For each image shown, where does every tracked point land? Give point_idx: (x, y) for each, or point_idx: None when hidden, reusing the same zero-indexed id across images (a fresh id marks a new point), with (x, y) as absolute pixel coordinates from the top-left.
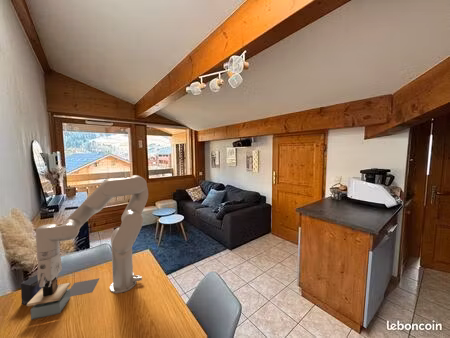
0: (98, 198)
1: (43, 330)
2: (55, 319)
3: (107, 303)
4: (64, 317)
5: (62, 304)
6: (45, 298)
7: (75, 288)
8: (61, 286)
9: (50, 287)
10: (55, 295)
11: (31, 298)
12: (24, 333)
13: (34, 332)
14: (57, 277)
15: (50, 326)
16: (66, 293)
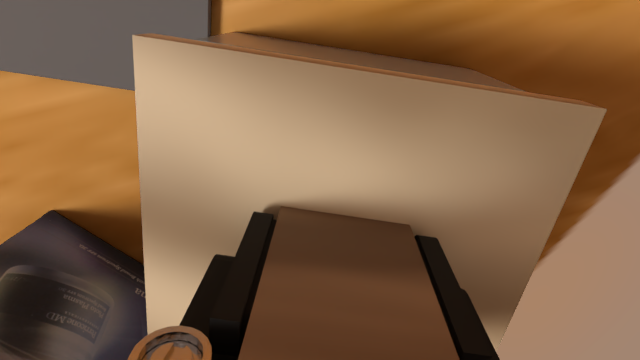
0: None
1: (616, 146)
2: (526, 90)
3: None
4: (556, 10)
5: (425, 68)
6: (473, 285)
7: (54, 14)
8: (219, 160)
9: (476, 351)
10: (473, 182)
11: None
12: (545, 257)
13: (587, 201)
14: (139, 351)
15: (604, 105)
16: (307, 57)
